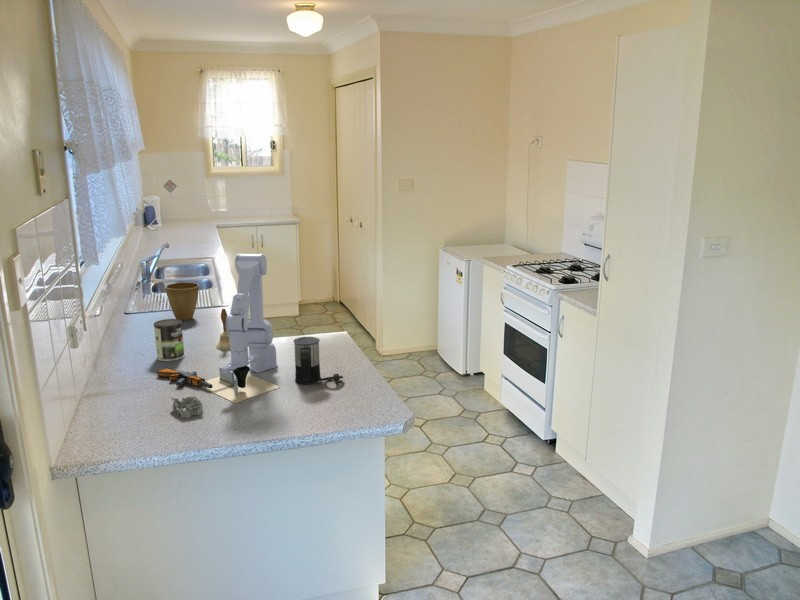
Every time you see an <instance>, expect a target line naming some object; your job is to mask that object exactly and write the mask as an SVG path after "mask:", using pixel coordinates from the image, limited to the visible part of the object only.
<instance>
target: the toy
mask: <svg viewBox="0 0 800 600" xmlns="http://www.w3.org/2000/svg"><path fill="white" fill-rule="evenodd" d="M197 373H198V372H197V371H193V372H190V371H184V370H179V371H178V370H176V369H172V368H168V367H167V368H166V367H165V368H163V369H159V370H157V371H156V375H157V377H161V378H169V381H170V382H174V381H176V382H175V385H176V386H183V385H184V384H187V385H190V386H194V387H197V388H202V387H201V386H205V387H207V388H213V387H212V384H209V383H207V382H206V381H207V380H206V378H204V377H201V376H199V375H198V374H197Z"/></svg>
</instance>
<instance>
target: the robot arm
mask: <svg viewBox="0 0 800 600" xmlns="http://www.w3.org/2000/svg"><path fill="white" fill-rule="evenodd" d="M267 267H268V266H267V258H266V255H265V254H264V253H237V254H236V255H235V257H234V268H235V270H236V273H237V274H238V282H237V293H236V294H234V295H233V297H232V301H231V307H230V312H229V314H228V315H227V318H226V330H227V334H228V337H229V340H230V349H229V350H230V352H229V353H230V360H229V362H228V363H227V364H225V365H224V366H220V367H221V371H222V373H223V374H227V373H228V372H230V371H233V373H234V374H235V376H236V378H237V382H238V387H240V388H245V386H246V377H247V374H249V372H250V371H252V372H255V373H256V374H257V373H261V372H264V371H267V370H270V369H273V368H278V366H279V364H278V362H277V349H276V347H275V344H274V343H273V338H274V337H273V336H274V331H273V326H272V323H271V322H270V321H268V320H266V319H265V318H264V296H263V295H264V294H263V293H264V292H263V276H265V275H267V272H268V270H267V269H268V268H267Z"/></svg>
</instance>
